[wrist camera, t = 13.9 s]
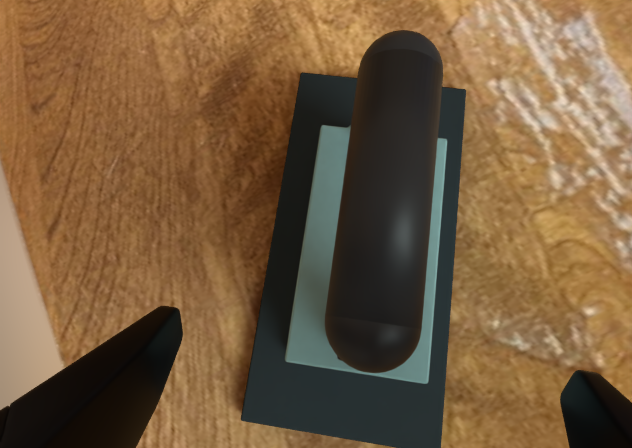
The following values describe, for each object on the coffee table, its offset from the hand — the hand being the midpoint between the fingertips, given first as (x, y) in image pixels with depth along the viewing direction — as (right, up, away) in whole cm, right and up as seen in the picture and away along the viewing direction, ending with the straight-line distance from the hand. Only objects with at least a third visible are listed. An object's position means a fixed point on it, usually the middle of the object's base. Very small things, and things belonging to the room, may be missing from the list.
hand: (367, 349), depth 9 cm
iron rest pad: (+1, +2, +9) cm, 9 cm away
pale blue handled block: (+1, +2, +8) cm, 9 cm away
